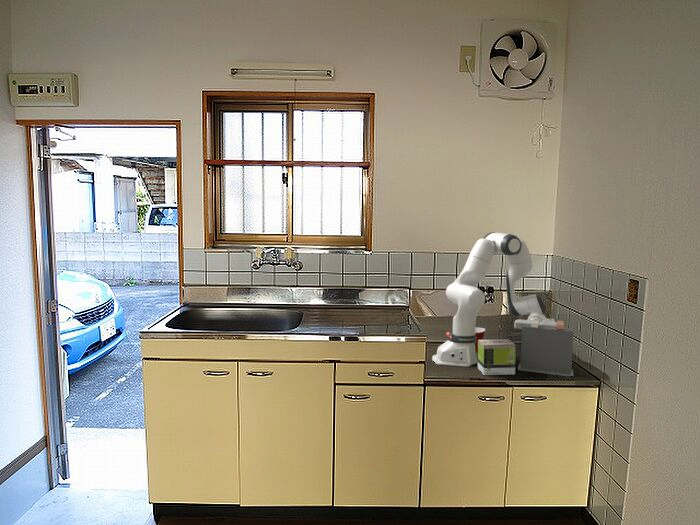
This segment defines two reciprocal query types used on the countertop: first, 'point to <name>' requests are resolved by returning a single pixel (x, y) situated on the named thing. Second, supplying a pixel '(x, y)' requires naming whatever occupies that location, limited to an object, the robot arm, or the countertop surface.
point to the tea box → (496, 357)
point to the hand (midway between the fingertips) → (534, 329)
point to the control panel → (546, 350)
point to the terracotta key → (560, 325)
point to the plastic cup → (479, 336)
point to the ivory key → (535, 323)
